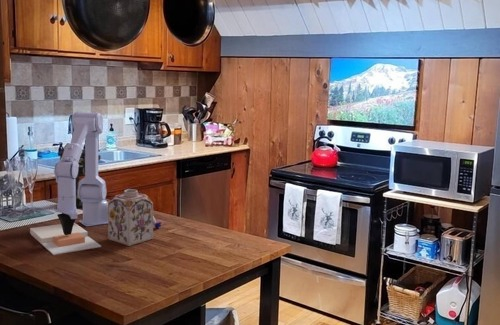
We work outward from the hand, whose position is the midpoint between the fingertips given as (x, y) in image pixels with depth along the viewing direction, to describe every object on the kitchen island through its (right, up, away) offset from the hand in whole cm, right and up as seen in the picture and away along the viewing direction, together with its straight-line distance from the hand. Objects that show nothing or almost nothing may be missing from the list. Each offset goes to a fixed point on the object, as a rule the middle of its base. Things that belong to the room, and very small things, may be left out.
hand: (67, 234), depth 181 cm
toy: (+22, 0, +24) cm, 33 cm away
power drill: (-12, +6, +51) cm, 52 cm away
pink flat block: (+1, -3, 0) cm, 3 cm away
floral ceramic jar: (+20, -3, +7) cm, 22 cm away
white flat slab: (-6, -2, +8) cm, 10 cm away
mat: (+2, -4, -3) cm, 5 cm away
